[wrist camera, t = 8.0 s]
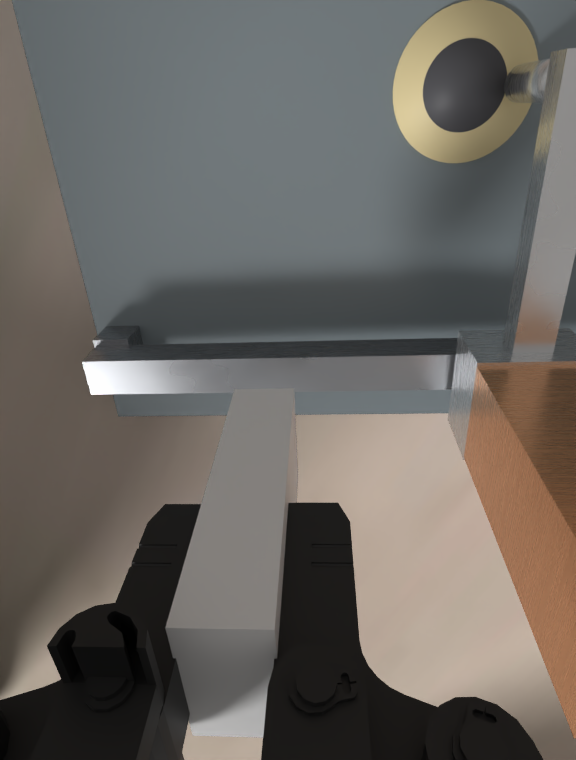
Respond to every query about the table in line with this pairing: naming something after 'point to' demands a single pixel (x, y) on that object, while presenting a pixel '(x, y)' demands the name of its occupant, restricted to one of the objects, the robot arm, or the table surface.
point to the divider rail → (266, 365)
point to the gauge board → (293, 170)
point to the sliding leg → (533, 386)
